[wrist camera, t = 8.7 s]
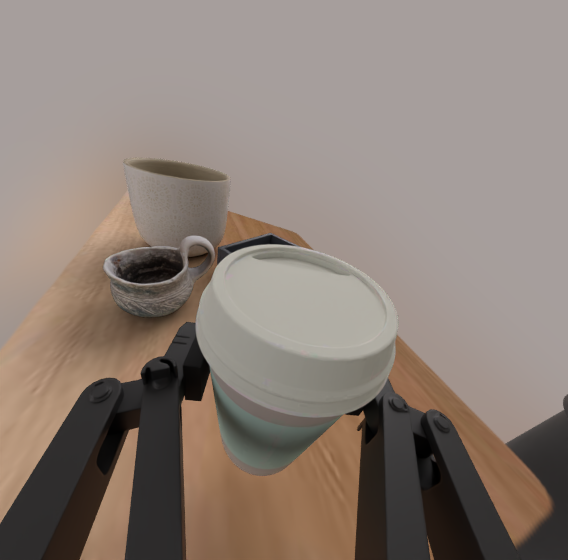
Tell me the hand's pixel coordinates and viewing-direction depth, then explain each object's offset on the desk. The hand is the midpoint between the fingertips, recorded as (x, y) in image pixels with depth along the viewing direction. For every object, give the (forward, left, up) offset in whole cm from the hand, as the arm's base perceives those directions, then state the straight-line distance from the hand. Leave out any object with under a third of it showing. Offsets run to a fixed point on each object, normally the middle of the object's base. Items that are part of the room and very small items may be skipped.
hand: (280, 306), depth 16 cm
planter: (+33, -14, -13) cm, 38 cm away
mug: (+19, -2, -13) cm, 23 cm away
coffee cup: (-3, +4, -7) cm, 8 cm away
